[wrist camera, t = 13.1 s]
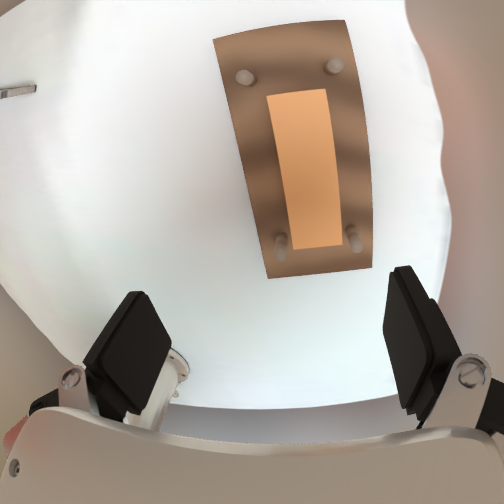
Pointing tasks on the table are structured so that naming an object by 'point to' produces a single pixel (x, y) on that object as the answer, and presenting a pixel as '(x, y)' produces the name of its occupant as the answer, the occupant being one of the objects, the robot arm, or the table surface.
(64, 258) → the table surface
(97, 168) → the table surface
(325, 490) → the robot arm
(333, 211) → the jaw block
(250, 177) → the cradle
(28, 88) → the caliper
